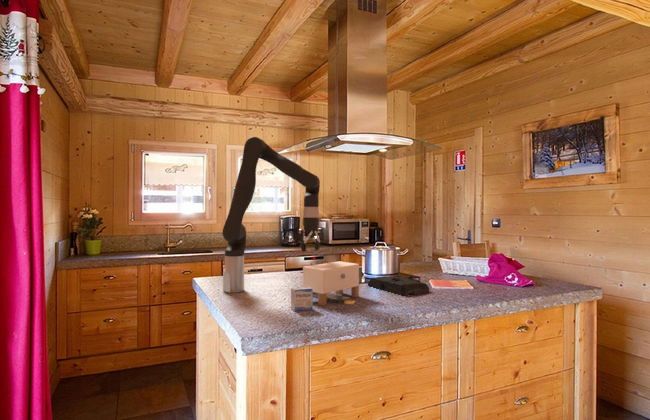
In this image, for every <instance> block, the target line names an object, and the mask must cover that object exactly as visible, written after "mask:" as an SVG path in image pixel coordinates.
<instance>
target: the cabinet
mask: <svg viewBox="0 0 650 420" xmlns="http://www.w3.org/2000/svg"><path fill="white" fill-rule="evenodd" d="M359 280H360V264H359V263H353V262H347V261H340V260H339V261H334V262H333V261H331V262H327V263H319V264H312V265H305V266H303V267H302V287H310V288H312V289H313V292H316V293H318V298H317V299H318V302H317V303H318V306H327V300H326V293H333V292H335V294H337V295H340V294H343V293H344V290H346V289H351V291H350V292H351V293H350V295H351V297H352V296H353V298H357V296H358V297H360V296H359V295H360V293H359V292H360V289H359V288H360V281H359Z"/></svg>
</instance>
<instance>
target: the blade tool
mask: <svg viewBox="0 0 650 420" xmlns="http://www.w3.org/2000/svg"><path fill="white" fill-rule="evenodd" d="M313 298H317V299H318V293H316V292H313ZM344 300H352V299H351V297H349V296H344V295H340V294H336V293H332V292H329V293H326V301H329V302H334V303H337V304H343V303H344ZM342 302H343V303H342Z"/></svg>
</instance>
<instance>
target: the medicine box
mask: <svg viewBox="0 0 650 420" xmlns="http://www.w3.org/2000/svg"><path fill="white" fill-rule="evenodd" d="M313 298H314V297H313V289H312V288H310V287H303V286H302V287H293V288H290V310H292V311H293V312H303V311H304V312H305V311H311V310H313V304H314V303H313Z"/></svg>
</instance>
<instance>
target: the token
mask: <svg viewBox="0 0 650 420" xmlns="http://www.w3.org/2000/svg"><path fill="white" fill-rule="evenodd" d="M354 303H355V304H356V300H354V299H351V300H344V302H343V304H344V305H349V304H351V305H355V304H354Z"/></svg>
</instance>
